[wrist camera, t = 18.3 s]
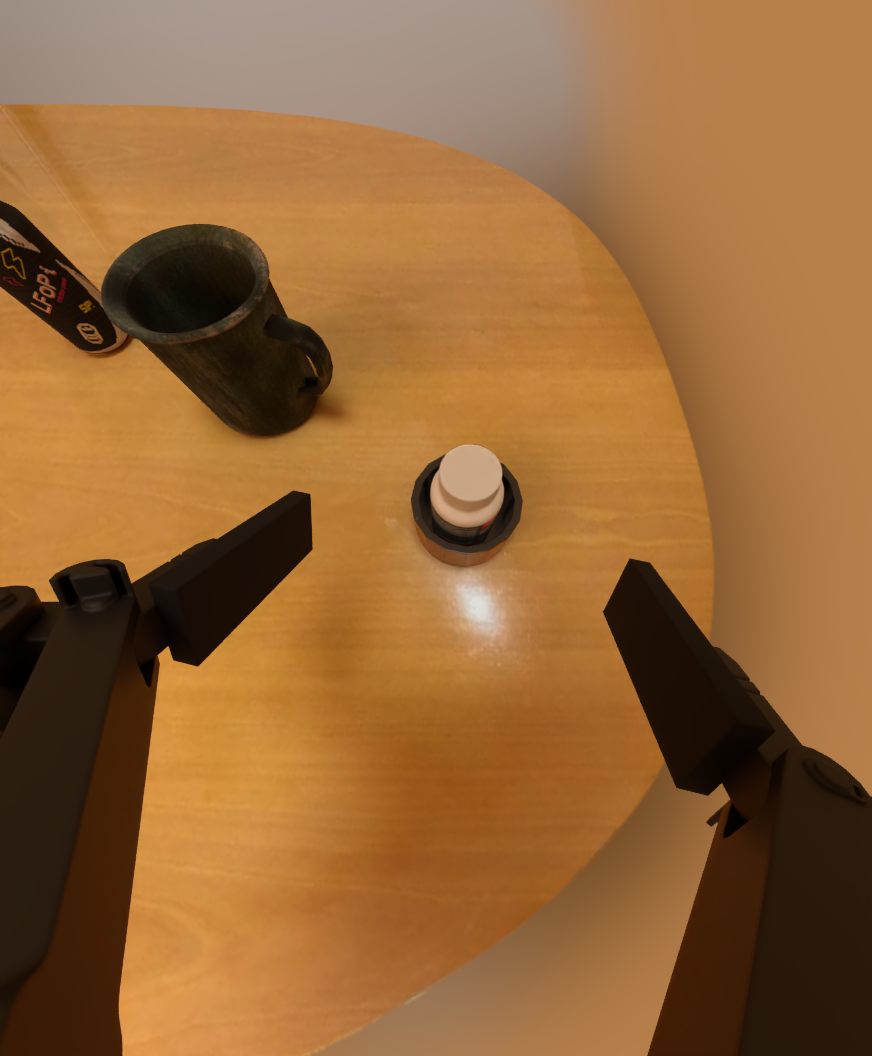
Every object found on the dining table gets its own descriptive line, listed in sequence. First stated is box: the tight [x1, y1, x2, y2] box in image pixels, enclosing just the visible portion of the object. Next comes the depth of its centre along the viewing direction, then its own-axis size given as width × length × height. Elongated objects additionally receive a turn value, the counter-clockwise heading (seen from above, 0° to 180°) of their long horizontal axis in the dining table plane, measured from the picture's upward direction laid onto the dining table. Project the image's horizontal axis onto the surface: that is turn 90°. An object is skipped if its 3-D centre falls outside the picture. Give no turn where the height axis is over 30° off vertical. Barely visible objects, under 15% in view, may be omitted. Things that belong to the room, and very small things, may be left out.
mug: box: [101, 224, 333, 436], centre depth 28 cm, size 11×15×12 cm
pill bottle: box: [430, 444, 504, 546], centre depth 25 cm, size 5×5×9 cm
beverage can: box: [0, 201, 128, 353], centre depth 31 cm, size 6×6×12 cm
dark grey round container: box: [411, 454, 523, 567], centre depth 27 cm, size 8×8×5 cm
